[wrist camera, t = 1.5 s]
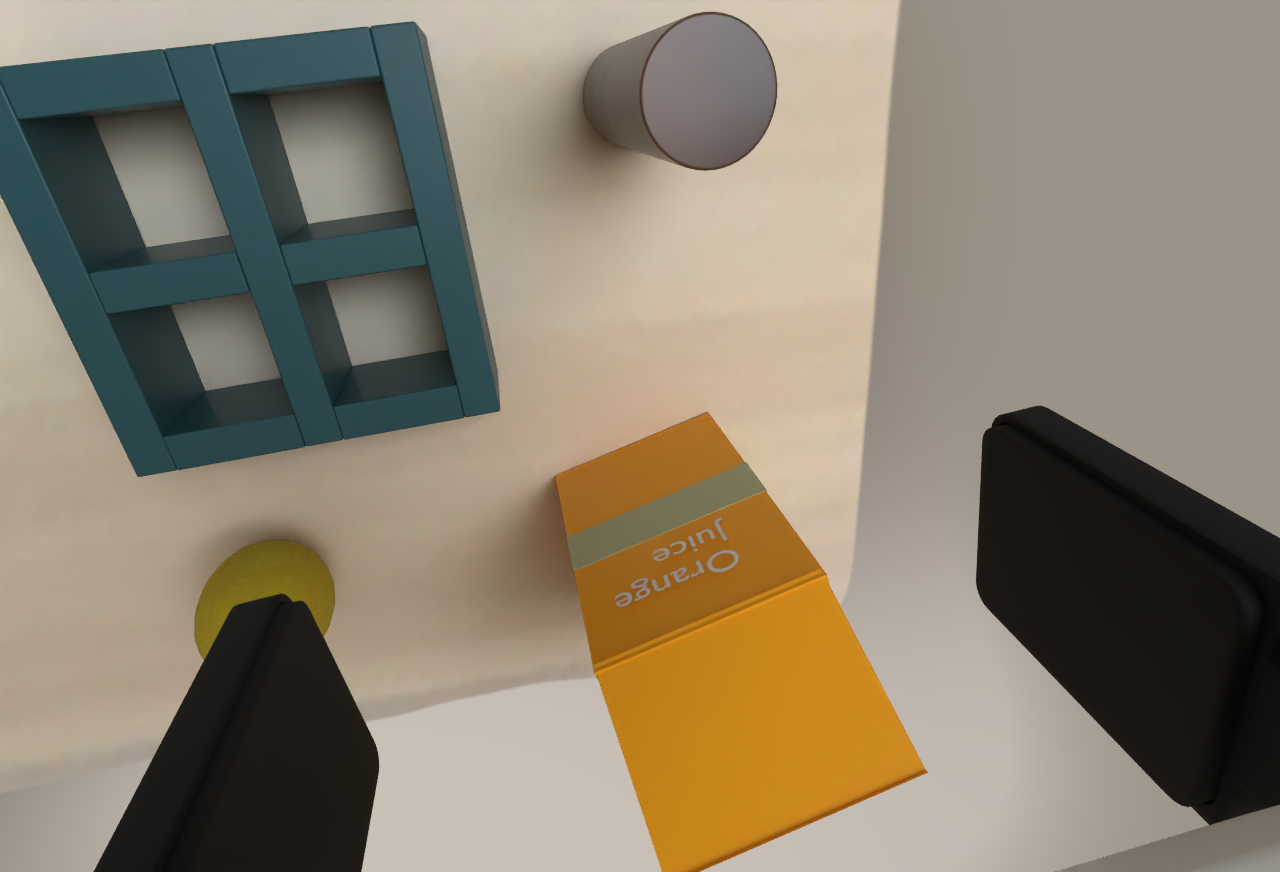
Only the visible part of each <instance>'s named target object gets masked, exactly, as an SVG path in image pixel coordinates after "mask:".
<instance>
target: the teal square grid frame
mask: <svg viewBox="0 0 1280 872" xmlns="http://www.w3.org/2000/svg"><path fill="white" fill-rule="evenodd" d="M377 82H383V84H384V88H385V92H386V97H387V101H388V105H389V109H390V113H391V117H392V121H393V125H394V129H395V133H396V138H397V142H398V146H399V150H400V154H401V158H402V162H403V166H404V170H405V175H406V179H407V183H408V187H409V191H410V195H411V199H412V203H413V207H414V209H409V210H402V211H395V212H388V213H381V214H374V215H367V216H360V217H353V218H347V219H340V220H333V221H326V222H319V223H312V224H309V225H308V223H307V220H306V216H305V213H304V210H303V207H302V204H301V200H300V197H299V194H298V191H297V187H296V184H295V181H294V178H293V174H292V171H291V168H290V165H289V162H288V158H287V155H286V152H285V149H284V145H283V142H282V139H281V136H280V132H279V129H278V126H277V123H276V120H275V116H274V113H273V110H272V107H271V103H270V100H269V97H268V95H278V94H286V93H294V92H303V91H311V90H319V89H328V88H336V87H344V86H353V85H361V84H369V83H377ZM178 106H184V108H185V110H186V113H187V116H188V119H189V122H190V124H191V127H192V130H193V133H194V135H195V138H196V141H197V144H198V147H199V149H200V152H201V155H202V158H203V161H204V163H205V166H206V169H207V172H208V174H209V177H210V180H211V183H212V186H213V188H214V191H215V194H216V197H217V200H218V202H219V205H220V208H221V211H222V214H223V216H224V219H225V222H226V225H227V227H228V230H229V233H230V235H228V236H221V237H214V238H207V239H200V240H193V241H186V242H180V243H173V244H166V245H159V246H152V247H147V248H146V247H145V245H144V242H143V240H142V237H141V235H140V233H139V230H138V228H137V225H136V223H135V221H134V218H133V216H132V213H131V211H130V208H129V206H128V204H127V201H126V199H125V196H124V194H123V191H122V189H121V187H120V184H119V182H118V179H117V177H116V175H115V172H114V170H113V167H112V165H111V162H110V160H109V158H108V155H107V153H106V150H105V148H104V145H103V143H102V141H101V138H100V136H99V133H98V131H97V129H96V126H95V124H94V121H93V119H92V117H95V116H103V115H112V114H120V113H128V112H137V111H145V110H153V109H162V108H170V107H178ZM0 195H1V197H2V199H3V201H4V203H5V205H6V207H7V209H8V211H9V213H10V215H11V217H12V219H13V221H14V223H15V226H16V228H17V230H18V232H19V234H20V236H21V238H22V240H23V242H24V244H25V246H26V248H27V250H28V252H29V254H30V256H31V258H32V261H33V263H34V265H35V267H36V269H37V271H38V273H39V275H40V277H41V279H42V281H43V283H44V285H45V287H46V289H47V291H48V293H49V295H50V298H51V300H52V302H53V304H54V306H55V308H56V310H57V312H58V314H59V316H60V318H61V320H62V322H63V324H64V326H65V328H66V330H67V333H68V335H69V337H70V339H71V341H72V343H73V345H74V347H75V349H76V351H77V353H78V355H79V357H80V359H81V361H82V363H83V365H84V367H85V370H86V372H87V374H88V376H89V378H90V380H91V382H92V384H93V386H94V388H95V390H96V392H97V394H98V396H99V398H100V400H101V402H102V405H103V407H104V409H105V411H106V413H107V415H108V417H109V419H110V421H111V423H112V425H113V427H114V429H115V431H116V433H117V435H118V437H119V439H120V442H121V444H122V446H123V448H124V450H125V452H126V454H127V456H128V458H129V460H130V462H131V464H132V466H133V468H134V470H135V472H136V474H137V476H138V477H142V476H148V475H153V474H158V473H164V472H169V471H175V470H177V469H178V470H182V469H188V468H193V467H198V466H204V465H209V464H215V463H220V462H226V461H231V460H237V459H242V458H248V457H253V456H259V455H264V454H270V453H275V452H281V451H286V450H291V449H297V448H302V447H305V446H312V445H317V444H323V443H328V442H334V441H339V440H343V438H344V439H345V440H346V439H351V438H357V437H362V436H367V435H373V434H378V433H384V432H389V431H395V430H400V429H406V428H411V427H417V426H422V425H428V424H433V423H439V422H444V421H450V420H455V419H460V418H464V416H465V417H470V416H476V415H481V414H487V413H492V412H498V411H500V399H499V385H498V370H497V366H496V361H495V356H494V352H493V347H492V342H491V338H490V333H489V328H488V324H487V319H486V314H485V310H484V305H483V300H482V296H481V291H480V286H479V282H478V277H477V272H476V268H475V263H474V258H473V254H472V249H471V244H470V240H469V235H468V230H467V226H466V221H465V216H464V212H463V207H462V202H461V198H460V193H459V188H458V184H457V179H456V174H455V170H454V165H453V160H452V156H451V151H450V146H449V142H448V137H447V132H446V128H445V123H444V118H443V114H442V109H441V104H440V100H439V95H438V90H437V86H436V81H435V76H434V72H433V67H432V62H431V58H430V53H429V48H428V44H427V39H426V35H425V34H424V33H423V31H422V30H421V29H420V28H419V26H418V25H417V24H416V23H415V22H413V21H412V22H403V23H394V24H385V25H376V26H371V27H370V28H369V27H358V28H349V29H340V30H330V31H321V32H312V33H303V34H294V35H285V36H276V37H267V38H258V39H249V40H240V41H231V42H222V43H215V44H214V45H213V44H204V45H195V46H186V47H176V48H167V49H165V50H163V49H158V50H149V51H140V52H130V53H121V54H112V55H103V56H94V57H85V58H76V59H67V60H58V61H49V62H40V63H31V64H22V65H12V66H3V67H0ZM424 265H428V269H429V273H430V277H431V281H432V285H433V289H434V294H435V298H436V302H437V306H438V310H439V314H440V318H441V322H442V326H443V331H444V335H445V339H446V343H447V347H448V350H445V351H439V352H433V353H428V354H422V355H416V356H410V357H404V358H398V359H392V360H386V361H381V362H375V363H369V364H363V365H357V366H353V367H352V365H351V362H350V359H349V355H348V352H347V349H346V346H345V342H344V339H343V336H342V333H341V329H340V326H339V323H338V320H337V317H336V313H335V310H334V307H333V304H332V300H331V297H330V294H329V291H328V287H327V284H326V281H327V280H333V279H340V278H346V277H353V276H359V275H366V274H372V273H379V272H385V271H392V270H398V269H405V268H411V267H418V266H424ZM249 292H251V294H252V297H253V300H254V303H255V305H256V308H257V311H258V314H259V317H260V319H261V322H262V325H263V328H264V331H265V333H266V336H267V339H268V342H269V345H270V347H271V350H272V353H273V356H274V358H275V361H276V364H277V367H278V370H279V372H280V375H281V378H280V379H274V380H268V381H262V382H257V383H251V384H245V385H239V386H233V387H227V388H221V389H215V390H210V391H206V392H205V390H204V388H203V385H202V383H201V380H200V378H199V375H198V373H197V371H196V368H195V366H194V363H193V361H192V358H191V356H190V354H189V351H188V349H187V346H186V344H185V342H184V339H183V337H182V334H181V332H180V329H179V327H178V325H177V322H176V320H175V317H174V315H173V312H172V310H171V308H170V305H171V304H178V303H184V302H191V301H197V300H204V299H210V298H217V297H223V296H230V295H236V294H243V293H249Z"/></svg>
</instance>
